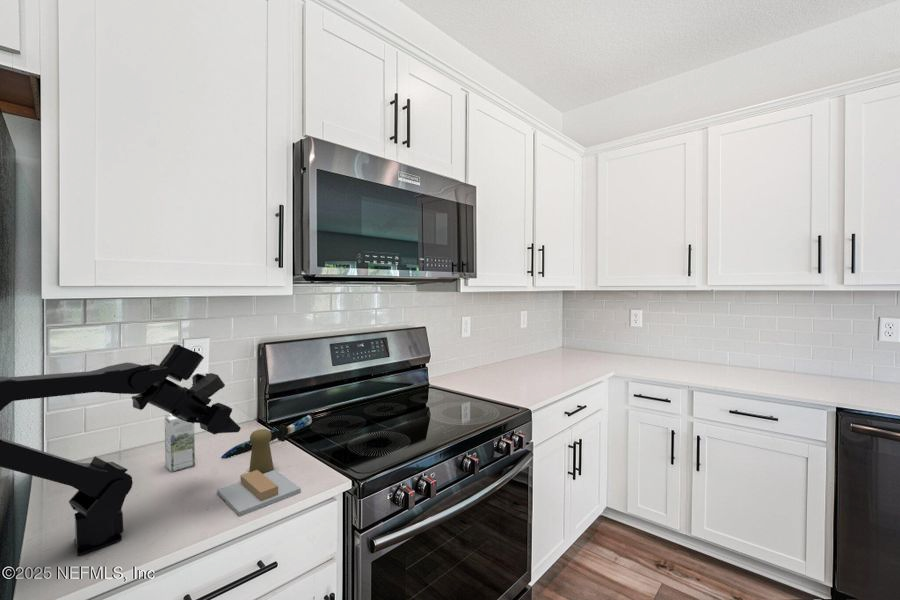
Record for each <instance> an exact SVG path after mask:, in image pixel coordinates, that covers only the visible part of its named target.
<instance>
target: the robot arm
mask: <svg viewBox="0 0 900 600" xmlns="http://www.w3.org/2000/svg"><path fill="white" fill-rule="evenodd" d="M204 358H205V357H204V356H203V355H202V354H201V353H199V352H197V351H194V350H191V349H189V348H187V347H184V346H182V345H181V344H176V343H174V344H173V345H172V346H171V348H170V349H169V351H168V353H166V355H165V356H164V358H163V359H162V360H161V362H160V363H159V364H154V363H150V364H139V363H134V362H123V363H118V364H113V365H109V366H105V367H101V368H98V369H94V370H89V371H77V372H64V373H62V372H61V373H50V374H49V373H48V374H38V375H37V374H35V375H20V376H10V377H9V376H1V375H0V412H1V411H3V410H4V408H6V406H8V405H9V404H11V403H12V402H17V401H25V400H35V399H43V398H44V399H45V398H53V397H62V396H72V395H83V394H90V393H107V394H119V395H120V394H123V395H132V396H131V400H132V407H133V409H136V410H139V411H142V410H144V408H146V406H147V405H148V404H149V405H152V406H154V407H156V408H159V409H160V410H163V411H165V412H167V413H168V414H172V416H174V417H176V418H179V419H181V420H183V421H186V422H191V423H193V424H194V425H195V423H196V424H199V427H200V429H201V430H204V431H205V432H208V433H210V434H212V435H214V436H215V435H217V434H229V433H233V434H234V433H240V431H241V426H240V425H238V423H237V422H235V420H234V419H232V417H231V414H232V413H233V408H232V407H229V406H228V405H226V404H223V403H221V402H216V403H212V404H211V405H209V404H210V403H211V402H212V399H211V398H210V397H212V396H213V395H215V394H216V393H217V392H218V391H220V390H222V389H223V388H225V386H226V383H225V382H224V381H223V379H221V377H220V376H219V374H217V373H212V372H209V373H205V375H204V374H201V373H195V374H194V372H195V371H196V370H197V368H198V367H199V365H200V364H201V363H202V361H203V360H204ZM193 374H194V375H193ZM192 375H193V376H192ZM191 376H192V377H191ZM168 378H170V379H172V380H173V381H172V380H170V379H168ZM190 378H192V384H191V387H189V388H188V387H185V386H181V385H179V384H178V383H176V382H179V383H181V382H182V381H188V380H189V379H190ZM174 381H176V382H174ZM0 468H3V469H8V470H11V471H15V472H18V473H22V474H25V475H29V476H32V477H36V478H39V479H44V480H47V481H50V482H51V481H52V482H55V483H58V484H62V485H66V486H69V487H71V488H74V489H76V490H78V491H76V492H75V493H74V495H73V496H72V497H71V498H70V500H68V504H69V505H70V507H71V508H72V510H74V511H76V512H75V513H74V531H75V532H74V534H75V535H74V536H75V538H74V539H73V543H74V544H73V545H74V547H75V552H76V555H77V556H82V555H85V554H88V553H90V552H93V551H95V550H99V549H102V548H105V547H107V546H109V545H112V544H114V543H118V542H120V541H122V539H123V537H122V534H123V533H124V514H123V511H122V508H123V506H124V502H125V501H126V500H125V499H126V497H127V495H128V494H129V493H130V492H131V489H132V487H133V483H134V482H133V477H132V475H131V474H128V473H127V471H128V468H126V467H123V466H122V465H120V464H117V463H116V462H114V461H106V460H103V459H101V458H100V457H97V456H94V457H93V458H92V459H91V462H88V463H87V462H77V461H75V460H71V459H69V458H65V457H62V456H59V455H57V454H53V453H49V452H46V451H43V450H40V449H37V448H33V447H31V446H27V445H24V444H21V443H18V442H14V441H11V440H9V439H5V438H2V437H0Z"/></svg>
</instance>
